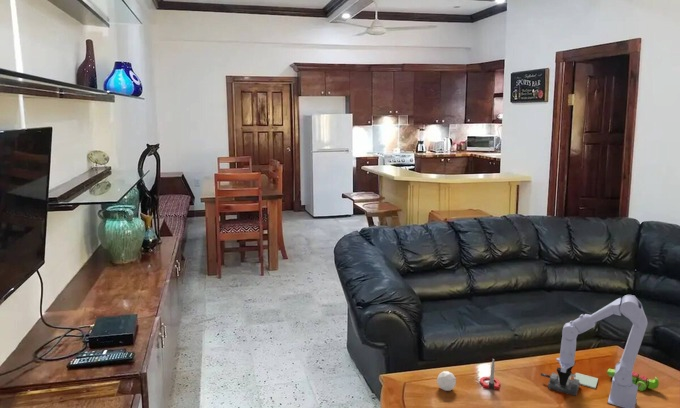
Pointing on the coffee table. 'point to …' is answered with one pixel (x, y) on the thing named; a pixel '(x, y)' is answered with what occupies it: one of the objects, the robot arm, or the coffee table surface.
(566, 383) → the hollow square tube
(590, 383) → the set down mat
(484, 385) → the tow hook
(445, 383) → the geometric ball
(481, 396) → the coffee table surface
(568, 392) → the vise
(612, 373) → the toy crocodile
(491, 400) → the coffee table surface
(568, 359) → the robot arm
